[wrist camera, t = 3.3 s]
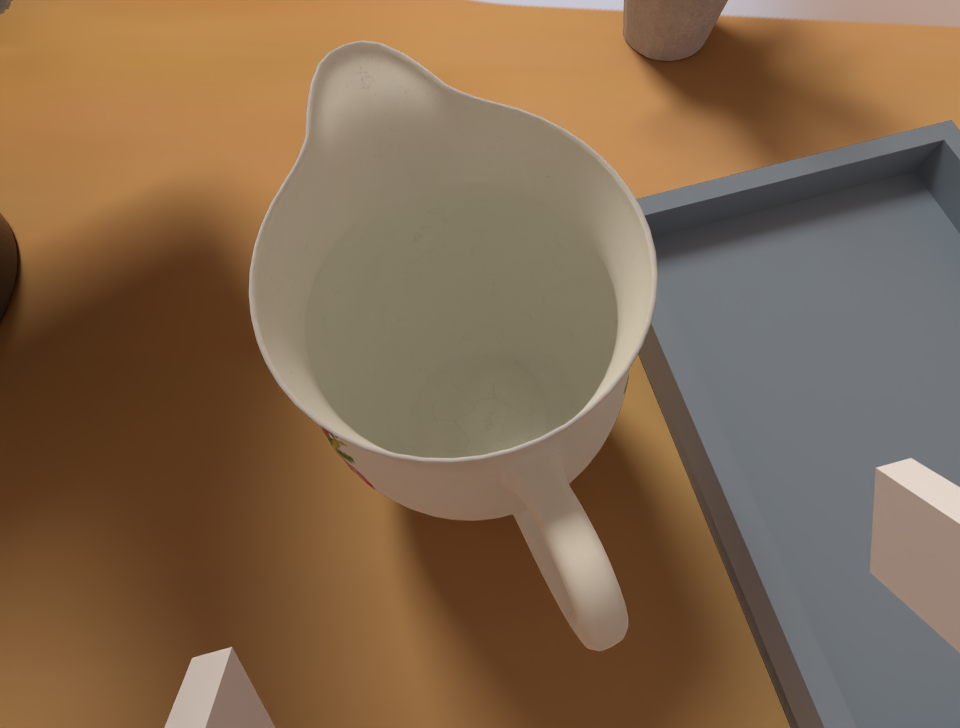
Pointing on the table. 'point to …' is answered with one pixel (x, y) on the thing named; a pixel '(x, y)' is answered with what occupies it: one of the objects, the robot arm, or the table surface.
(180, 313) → the table surface
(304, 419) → the table surface
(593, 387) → the pitcher
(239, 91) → the table surface
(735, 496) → the tray
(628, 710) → the table surface
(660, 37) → the house plant
